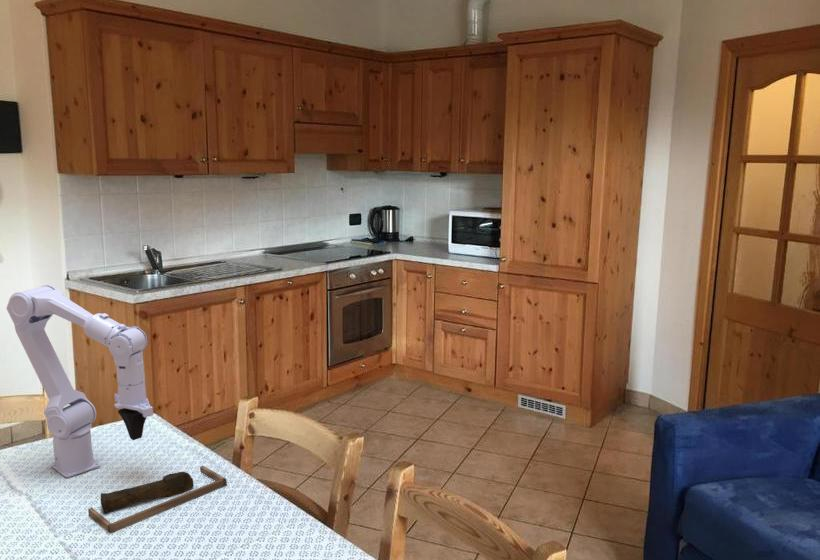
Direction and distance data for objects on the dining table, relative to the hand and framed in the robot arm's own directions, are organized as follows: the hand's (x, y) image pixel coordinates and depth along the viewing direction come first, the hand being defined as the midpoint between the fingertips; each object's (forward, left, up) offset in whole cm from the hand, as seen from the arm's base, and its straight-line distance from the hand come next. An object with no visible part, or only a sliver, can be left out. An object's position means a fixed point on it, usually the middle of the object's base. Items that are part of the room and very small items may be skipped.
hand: (136, 438), depth 156 cm
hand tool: (+11, -4, -10) cm, 15 cm away
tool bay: (+14, -2, -9) cm, 17 cm away
